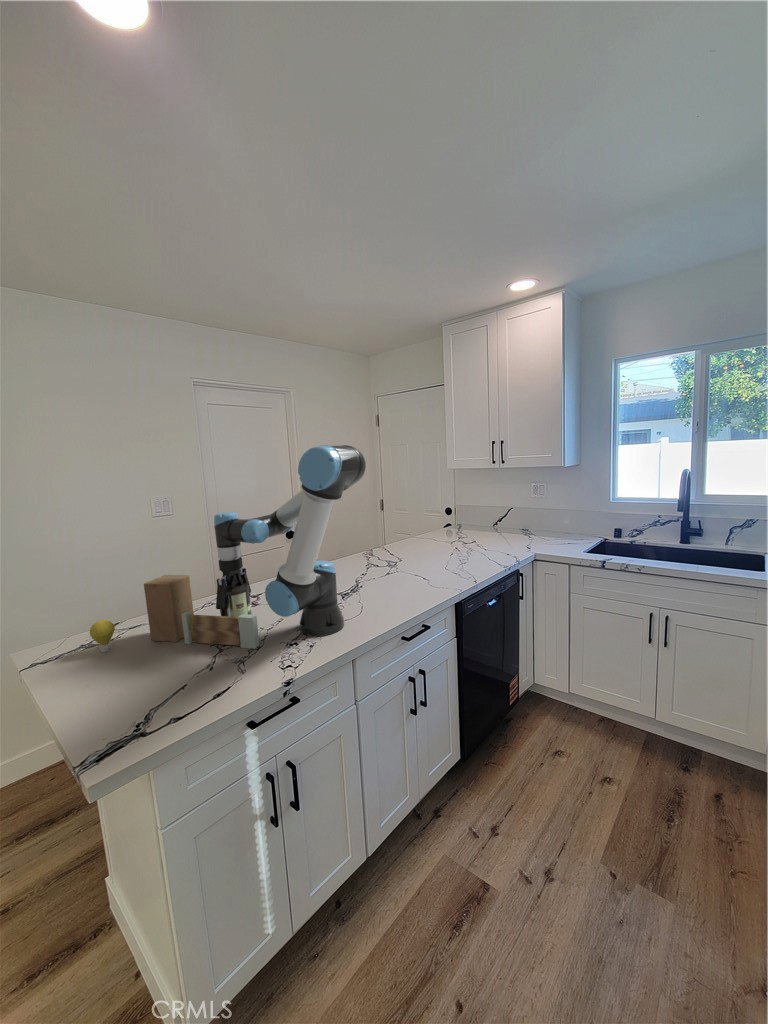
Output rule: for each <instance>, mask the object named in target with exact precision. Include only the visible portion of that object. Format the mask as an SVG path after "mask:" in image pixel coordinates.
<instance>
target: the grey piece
mask: <svg viewBox="0 0 768 1024" xmlns="http://www.w3.org/2000/svg"><path fill="white" fill-rule="evenodd" d="M181 615H182V623H183V632H184V638H183V639H184V644H185V645H186V644H187V645H189V644H192V643H193V642H192V635H191V627H190V619H189V615H191V612H185V613H183V614H181ZM238 623H239V632H240V642H241V645H240V648H242V649H243V648H244V649H257V648H258V647H259V646H260V638H259V628H258V616H257V614H252V615H247V614H242V615H240V616H239V617H238Z"/></svg>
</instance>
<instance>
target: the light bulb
mask: <svg viewBox="0 0 768 1024" xmlns="http://www.w3.org/2000/svg"><path fill="white" fill-rule="evenodd" d="M115 630H116V627H115V625H114V622H112V621H110V620H108V619H100V620H98V621H96V622H94V623H92V625H91V627H90V629H89V636H90V637H91V638H92V639H93V640H94V641H95V642H96V643H97V644H98V650H100V652H101V653H105V652H108V651H110V647H111V645H112V644H111V639H112V638H113V635H114V633H115Z"/></svg>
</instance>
